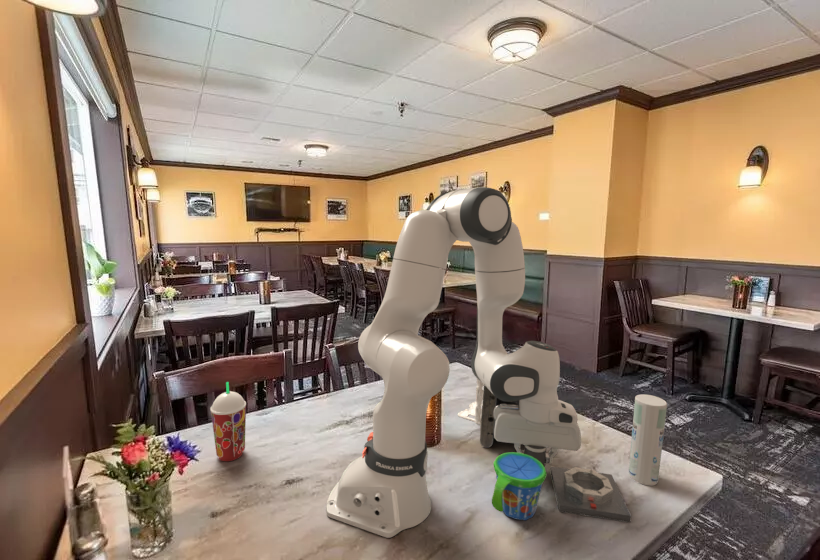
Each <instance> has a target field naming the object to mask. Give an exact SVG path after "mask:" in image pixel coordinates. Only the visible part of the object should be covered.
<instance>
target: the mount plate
mask: <svg viewBox="0 0 820 560" xmlns="http://www.w3.org/2000/svg"><path fill="white" fill-rule="evenodd" d="M549 470H550V473H549V474H550V477H551V481H552V486H553V492H554V495H555V499H556V503H557V508H558V511H559V512H562V513H568V514H574V515H580V516H586V517H587V516H588V517H594V518H599V519H607V520H612V521H619V522H620V521H621V522H624V523H625V522H626V523H631V519H632V515H631V512H630V510H629V509H628V506H627V504H626V502H625V500H624V497H623V496H622V494H621V491H620V489H619V487H618V485H617V483H616V481H615V478H614V477H613V475H612V474H611V473H610V474H609V473H603V472H602V473H601V472H597V471H596V470H594V469H592V468H583V467H575V466H574V467H572V468H565V467H557V466H550V469H549Z"/></svg>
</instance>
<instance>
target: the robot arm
mask: <svg viewBox="0 0 820 560" xmlns="http://www.w3.org/2000/svg"><path fill="white" fill-rule="evenodd" d="M457 241H458V242H463V243H464V242H465V243H467V242H468V243H469V244H470V246H471V247H472V249H473V254H474V275H475V276H474V277H475V289H476V301H477V302H476V303H477V304H476V305H477V306H476V344H475V346H474V347H475V348H474V351H473V354H472V357H471V361H470V367H471V372H472V373H473V375H474V377H475V378H476V379H477V378H478V379H479V380H480V381H481V382H482V383H483V384H484V385H485V386H486V387H487V388H488V389H489V390H490V391H491V393H492V394H493V395H494V396H495V397H497V398H498V399H500V400H502V401H507V402H510V401H517V400H519V405H506V404H500V405H498V406H496V407H495V408H494V418H495V420H496V421H495V427H494V437H493V439H494V440H495V441H496V442H501V443H508V444H514V449H515V450H516V452H517V453H523V454H525V453H524V450H525V449H524V450H522V449H521V445H524V446H525V445H534V446H542V447H546V448H550V450H549V452H548V453H547V452H546V457H545V464H549V465H552V464H553V458H554V457H555V456H556V455H557V453H558V450H565V451H574V452H578V451H579V450H580V449H581V447H582V433H581V428H580V426H579V424H578V420H579V419H578V414H577V411H576V409H575V408H574V406H573V404H571V403H568V402H565V401H563V400H561V399H559V396H558V392H557V391H558V386H559V383H560V374H561V372H560V371H561V369H560V368H561V366H560V364H561V363H560V354H559V351H558V350H557V349H556V348H555V347H553V346H552V345H550V344H548V343H545V342H542V341H537V340H528V341H525V343H524V345H522V346H521V347H520V348H518V349H517V350H516V351H514V352H511V353H508V352H507V350H506V349H505V347H504V345H503V315H504V313H505V310H506V309H507V308H509V307H511V306H513V305H515V304H516V303H517V302H519V300H520V299H521V298H522V297H523V295H524V291H525V285H526V267H525V265H526V264H525V254H524V246H523V242H522V238H521V233H520V230H519V227H518V225H517V224H515V222H513V217H512V211H511V207H510V204H509V202H508V199H507V198H506V197H505V195H504V194H503V193H502V192H501V191H500V190H497V189H495V188H492V187H486V186H480V187H475V188H459V189H456V190H452V191H450V192H445V193H442V194H439V195H437V196H436V197H435V198H434V199H432V201H431V202H430V203H429V205H428V207H427V208H426V209H421V210H420V209H419V210H416V211H414V212H411V213H410V214H409V215H408V216H407V217H406V219H405V221H404V223H403V225H402V228H401V231H400V233H399V236H398V239H397V242H396V246H395V248H394V249H395V250H394V254H393V258H392V261H391V262H392V263H391V267H390V271H389V277H388V281H387V285H386V290H385V293H384V296H383V299H382V301H381V304H380V306H379V308H378V311H377V313H376V315H375V317H374V318H373V320H372V321H371V324H370V325H368V326H367V327H366V328H364V330H362V332H361V333H360V336H359V338H358V342H357V343H358V344H357V348H358V353H359V355H360V356H361V359H362V360H363V361H364V363H365V365H366V366H367V367H368V368H369V369H371V371H373V372H375V373H376V374H377V375H379V376H380V377H381V378H382V381H383V384H384V388H383V395H382V399H381V400H380V401H379V402H378V403H377V404H376V405H375V406H374V408H373V412H372V431H371V432H369V435H368V437H367V439H366V440H367V441H366V442H365V445H364V446H363V447H364V448H363V450H362V453H361V454H362V455H360V456H359V457H357V458H356V459H354V460H353V461H351V462H350V463H349V464H348V465H347V466H346V468H345V470H344V471H343V473H342V474H341V477H340V480H338V482H337V483H336V484H335V485H334V487H333V488H332V490H331V492H330V494H329V496H328V497H327V501H326V507H325V512H326V516H327V517H329V518H331V519H333V520H336V521H338V522H341V523H344V524H347V525H350V526H353V527H355V528H358V529H361V530H363V531H366V532H370V533H373V534H375V535H378V536H382V537H383V538H387V539H389V538H393V537H394V536H396V535H397V534H399V533H400V532H401V531H404V530H406V529H410V528H413V527H416V526H418V525H419V524H422V522H424V521H425V520H426V519H427V517H429V515H430V513H431V510H432V500H431V497H430V494H429V490H428V484H427V475H426V472H427V470H428V469H427V468H428V447H427V446H428V444H427V441H426V421H427V411H428V407H429V404H430V401H431V399H432V397H434V396H436V395H438V393H439V392H441V391H442V389H443V388H444V387H445V385H446V383H447V381H448V379H449V377H450V370H451V369H450V368H451V367H450V362H449V359H448V357H447V355H446V354H445V353H444V352H443V351H442V350H441V349H440V348H439V347H438V346H437V345H436V344H435V343H434V342H432V341H431V340H430V339H427V338H425V337H423V336H422V335H418V334H419V330H420V328H421V326H422V323H423V322H424V320H425V318H426V317H427V316H428V314H430V313H432V312H434V311H435V310H436V309H437V307H438V306H439V303H440V298H441V294H442V289H443V285H444V280H445V275H446V272H447V271H446V270H447V265H448V259H449V254H450V251H451V249H452V247H453V246H454V243H456V242H457ZM518 409H519V410H518Z"/></svg>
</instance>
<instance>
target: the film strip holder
mask: <svg viewBox="0 0 820 560" xmlns="http://www.w3.org/2000/svg"><path fill="white" fill-rule="evenodd" d="M483 388H484V384H483V383H482V382H481V381H480V380H479V379H478V378H476V389H475V401H473V402H471V403H469V404H468V408H465V410H460V411H458V413H457V417H459V418H461V419H464V420H467V421H471V422H474V423H475V424H477V425H478V426H480V423H481V413H482V402H483V391H484V389H483ZM469 416H473V417H474V418H472V417H469Z"/></svg>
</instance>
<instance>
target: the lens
mask: <svg viewBox="0 0 820 560" xmlns="http://www.w3.org/2000/svg"><path fill="white" fill-rule="evenodd" d="M524 453H525V454H526V455H529V456H532V457H534V458H535V459H537V460H538V461H540V462H541V463H542V464H543V466H544V467H545V468H546V463H545V457H546V453H547V447H542V446H534V445H524Z"/></svg>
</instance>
